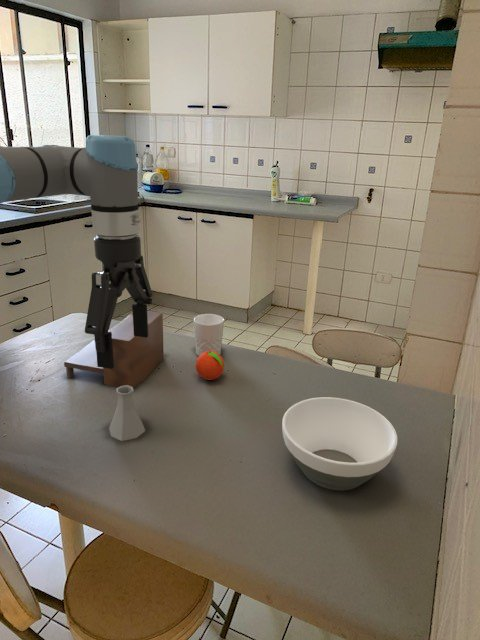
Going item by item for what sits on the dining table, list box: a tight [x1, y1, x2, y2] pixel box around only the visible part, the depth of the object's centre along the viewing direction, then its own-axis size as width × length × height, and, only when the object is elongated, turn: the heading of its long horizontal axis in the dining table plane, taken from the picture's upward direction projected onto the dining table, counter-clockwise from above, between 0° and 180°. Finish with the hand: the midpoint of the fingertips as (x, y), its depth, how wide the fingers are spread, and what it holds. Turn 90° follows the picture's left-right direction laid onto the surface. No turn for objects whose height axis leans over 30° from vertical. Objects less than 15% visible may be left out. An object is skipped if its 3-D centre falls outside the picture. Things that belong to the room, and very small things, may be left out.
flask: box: [108, 385, 146, 442], centre depth 89 cm, size 7×7×10 cm
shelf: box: [63, 310, 165, 389], centre depth 113 cm, size 17×18×13 cm
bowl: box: [281, 396, 398, 491], centre depth 82 cm, size 20×20×10 cm
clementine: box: [195, 351, 225, 381], centre depth 111 cm, size 8×7×7 cm
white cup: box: [193, 313, 225, 357], centre depth 124 cm, size 8×8×10 cm
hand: (124, 350), depth 85 cm, fingers open, 13 cm apart
